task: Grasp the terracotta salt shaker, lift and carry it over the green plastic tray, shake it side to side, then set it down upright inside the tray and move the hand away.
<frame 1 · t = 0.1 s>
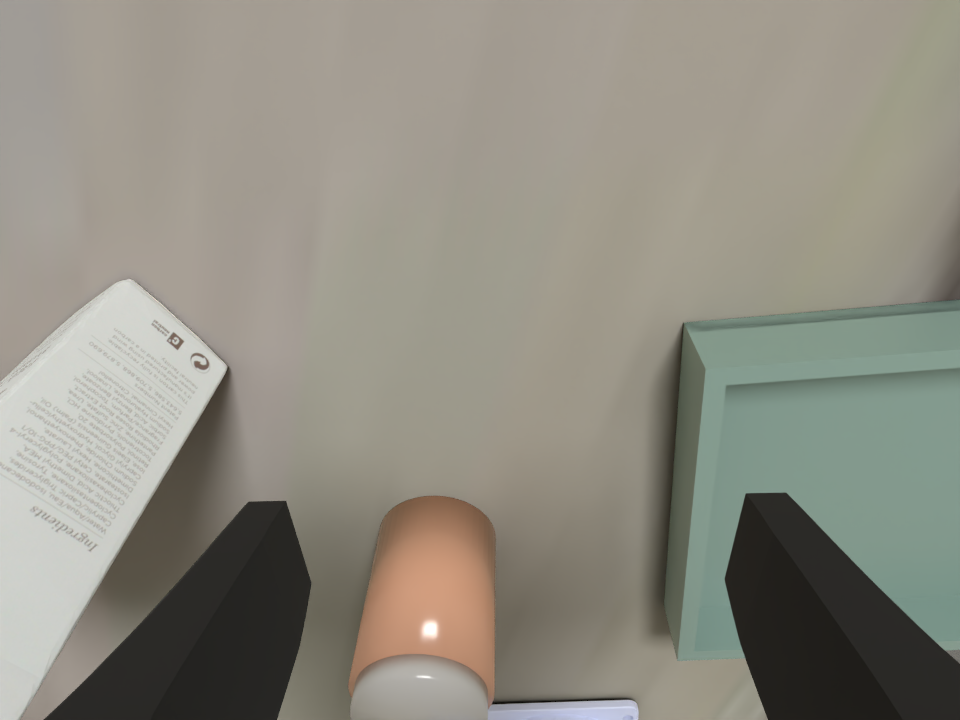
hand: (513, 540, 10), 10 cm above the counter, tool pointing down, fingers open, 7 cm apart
tray: (901, 473, 23), on the counter
skincare box: (129, 365, 21), on the counter
salt shaker: (437, 537, 25), on the counter
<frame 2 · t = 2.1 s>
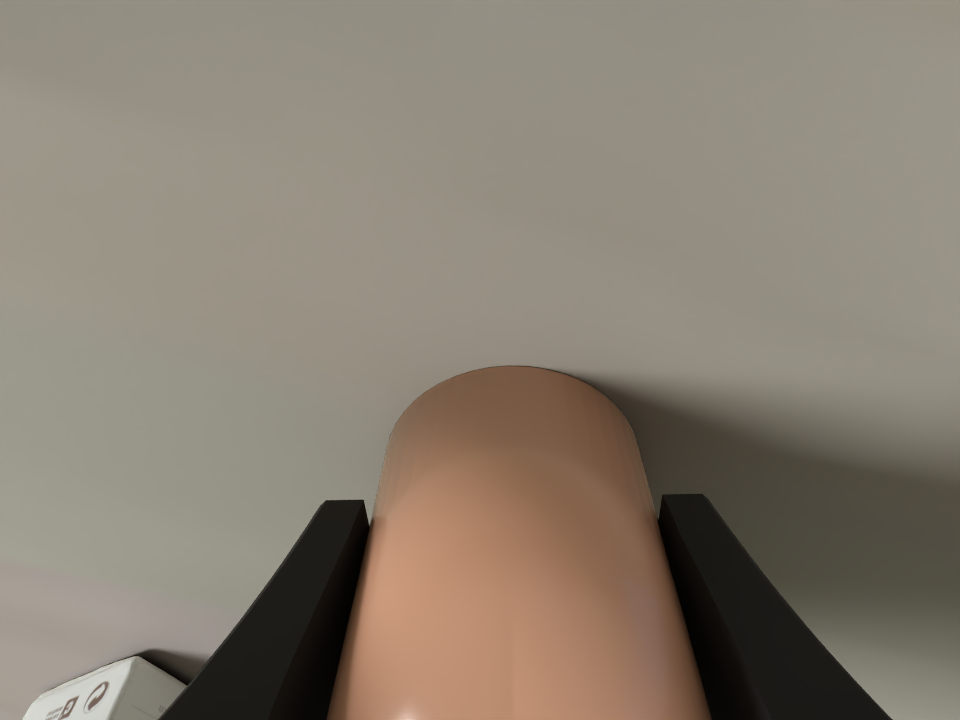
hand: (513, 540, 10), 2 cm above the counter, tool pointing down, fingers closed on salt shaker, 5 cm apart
skincare box: (186, 716, 17), on the counter
salt shaker: (511, 470, 12), on the counter, touching gripper
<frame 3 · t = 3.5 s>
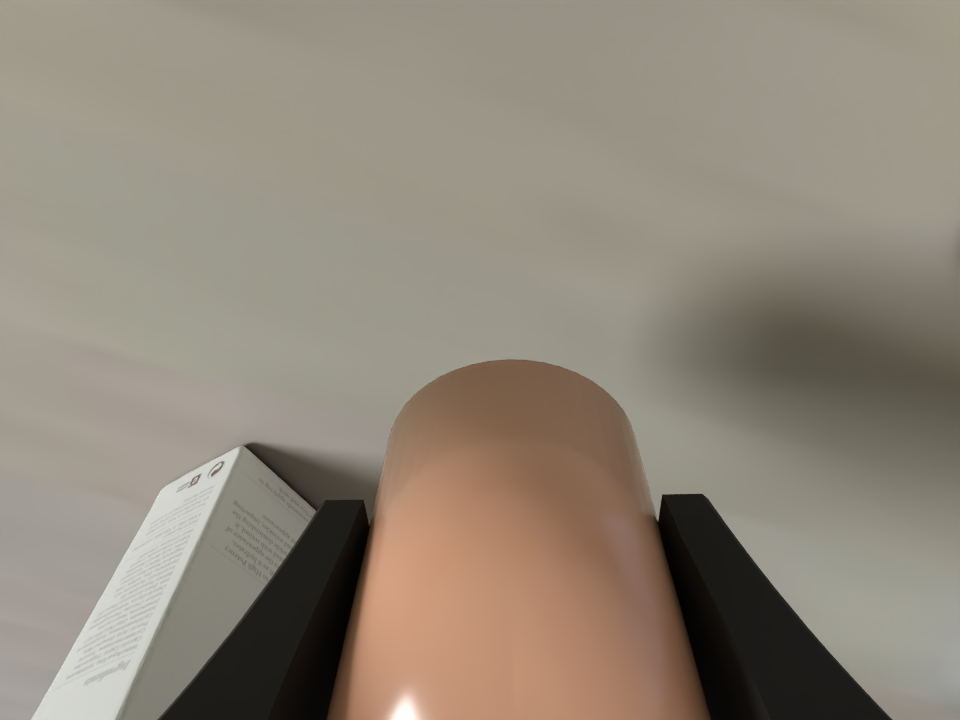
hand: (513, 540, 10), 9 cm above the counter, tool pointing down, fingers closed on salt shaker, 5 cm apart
skincare box: (268, 510, 23), on the counter
salt shaker: (511, 462, 12), point 7 cm above the counter, touching gripper
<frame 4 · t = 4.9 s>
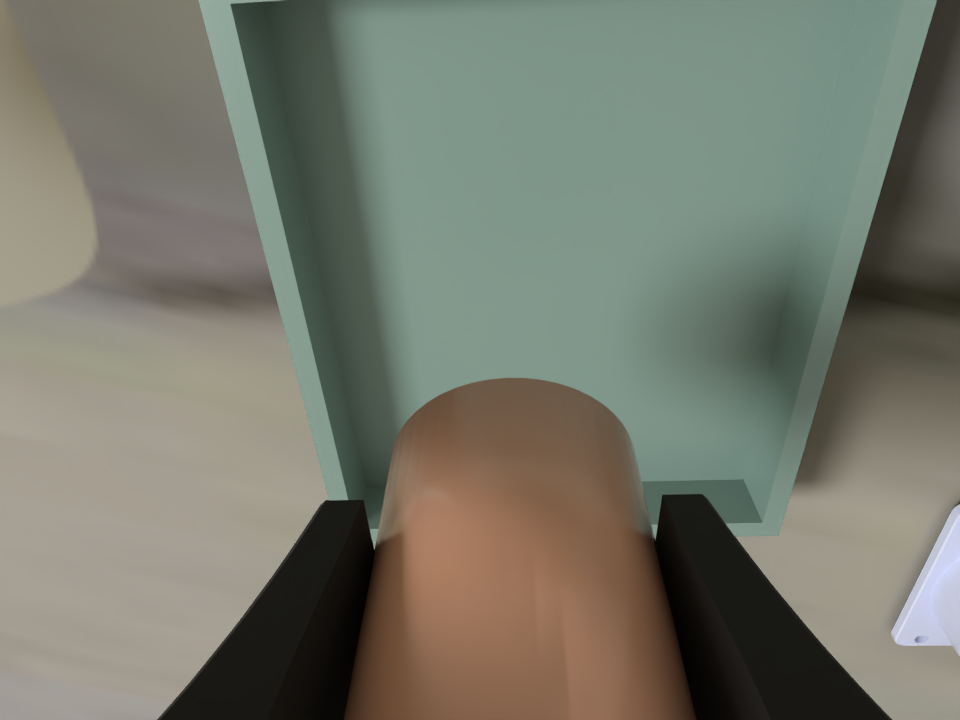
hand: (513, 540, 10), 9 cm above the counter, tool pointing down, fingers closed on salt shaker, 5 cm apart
tray: (551, 278, 18), on the counter
salt shaker: (512, 471, 12), point 7 cm above the counter, touching gripper
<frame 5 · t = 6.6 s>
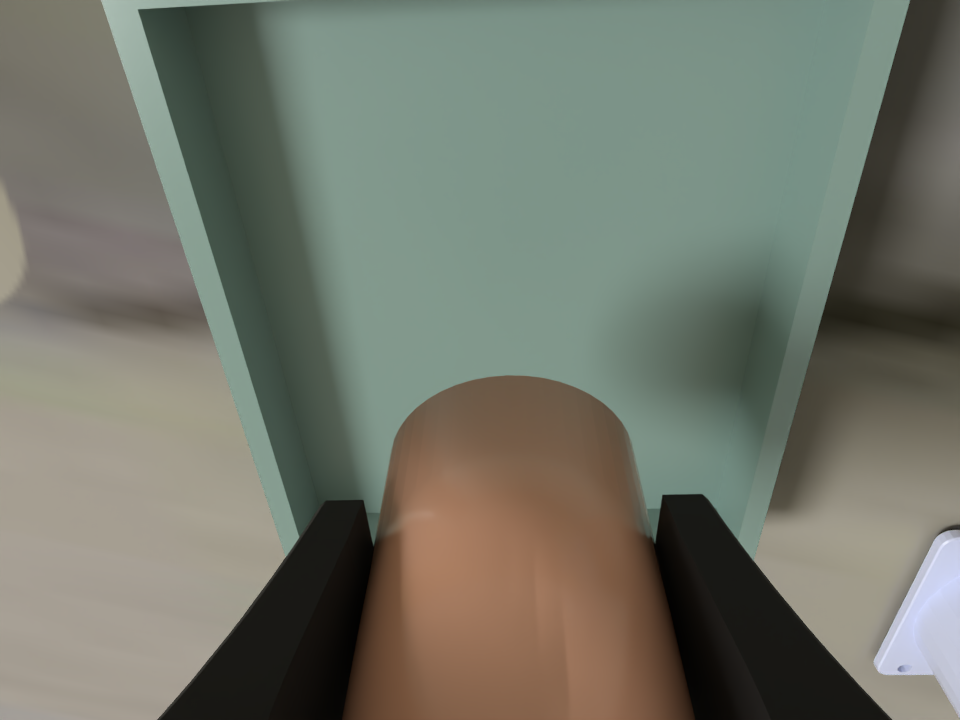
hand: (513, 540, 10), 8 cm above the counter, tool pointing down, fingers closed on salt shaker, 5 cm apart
tray: (509, 300, 17), on the counter
salt shaker: (511, 468, 12), point 6 cm above the counter, touching gripper
when the fingers open (3 cm above the counter, at t = 7.8 s): salt shaker stays where it is, resting on tray.
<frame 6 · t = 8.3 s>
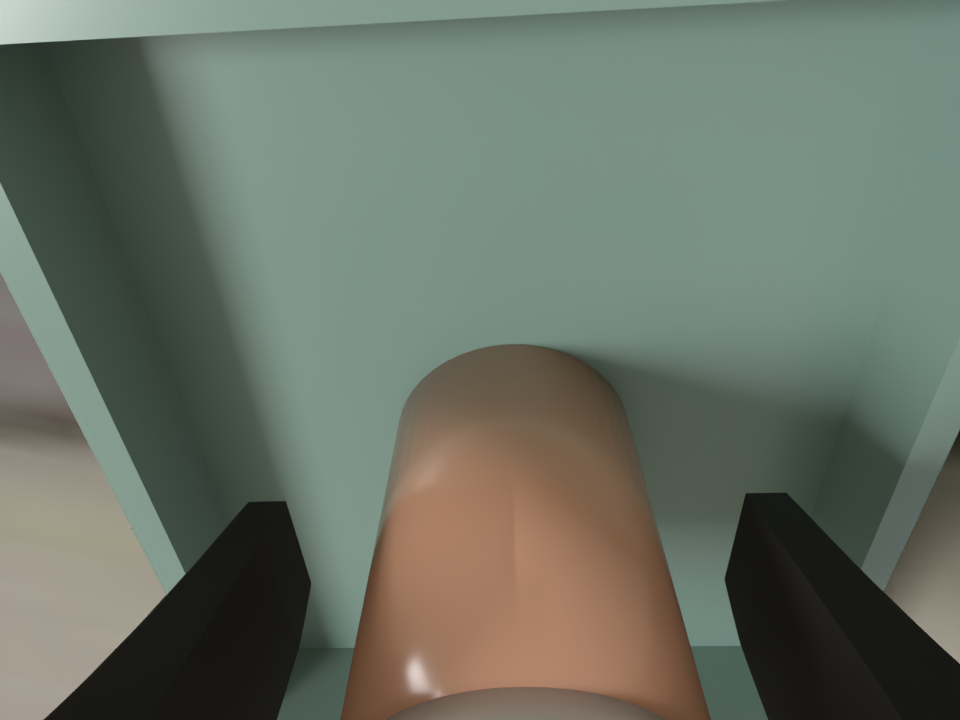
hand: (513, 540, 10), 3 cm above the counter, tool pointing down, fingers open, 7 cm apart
tray: (510, 409, 13), on the counter
salt shaker: (512, 441, 13), point 1 cm above the counter, touching tray
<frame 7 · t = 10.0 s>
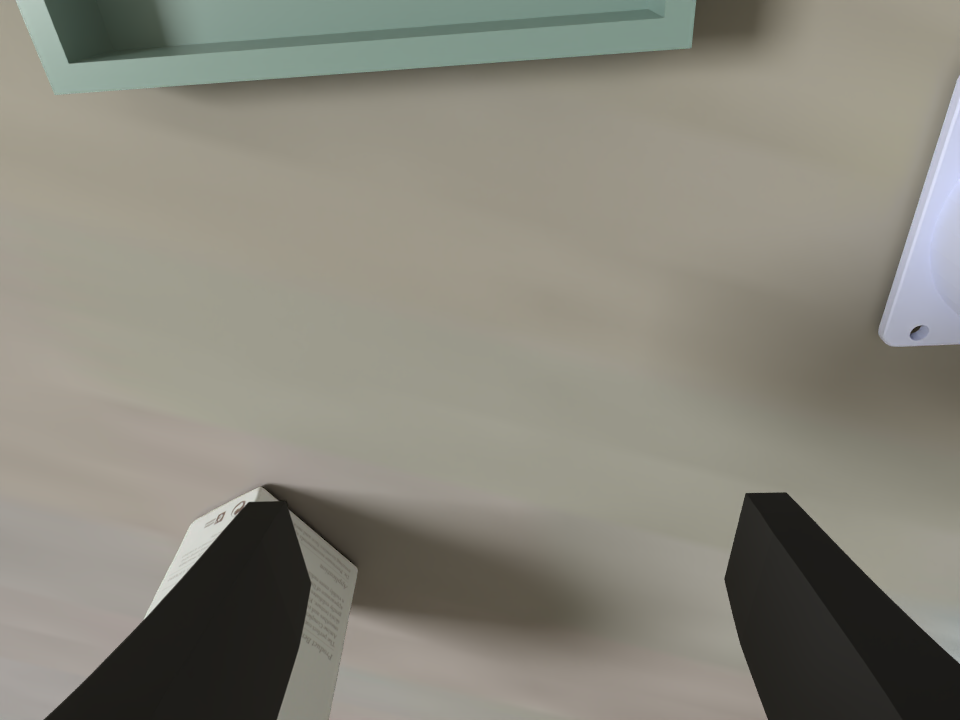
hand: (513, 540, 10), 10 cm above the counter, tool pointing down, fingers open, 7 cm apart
skincare box: (284, 540, 27), on the counter
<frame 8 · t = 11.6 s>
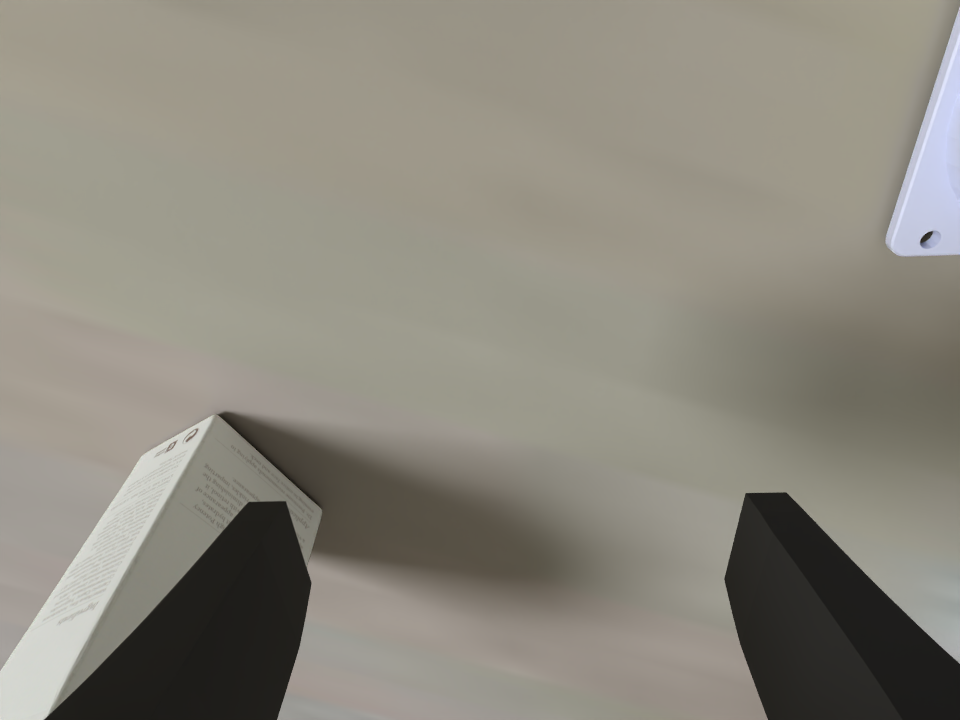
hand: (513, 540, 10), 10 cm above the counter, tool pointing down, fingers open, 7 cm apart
skincare box: (243, 478, 25), on the counter
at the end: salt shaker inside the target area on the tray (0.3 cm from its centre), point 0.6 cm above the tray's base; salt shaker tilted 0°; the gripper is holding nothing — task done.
